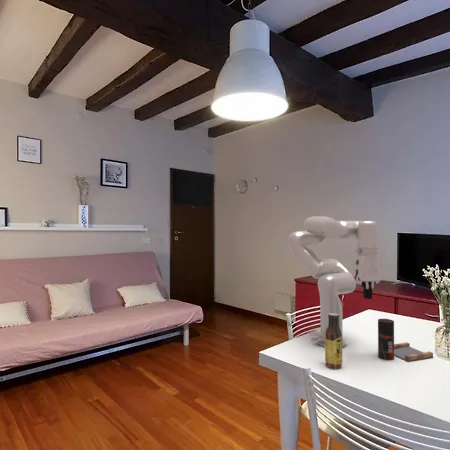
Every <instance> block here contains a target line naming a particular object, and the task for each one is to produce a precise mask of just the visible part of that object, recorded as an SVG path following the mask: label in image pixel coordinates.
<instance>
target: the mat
mask: <svg viewBox="0 0 450 450" xmlns="http://www.w3.org/2000/svg"><path fill="white" fill-rule="evenodd" d="M418 353H424V351H421V350H420V349H416V348H414V347H413V346H412V347H411V346H410V347H405V348H398V349H394V357H396V358H398V359H401V360H403V361H405V362H407V361H408V360H407V361H406V360H405V356H406V355H412V354H418ZM426 358H428V359H434V355H433V356H432V357H431V358H429V357H426ZM421 359H422V358H421ZM415 360H416V359H415ZM416 361H418V360H416ZM416 361H415V362H416ZM411 362H412V363H413V361H411ZM411 362H410V361H409V362H408V363H411Z"/></svg>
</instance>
